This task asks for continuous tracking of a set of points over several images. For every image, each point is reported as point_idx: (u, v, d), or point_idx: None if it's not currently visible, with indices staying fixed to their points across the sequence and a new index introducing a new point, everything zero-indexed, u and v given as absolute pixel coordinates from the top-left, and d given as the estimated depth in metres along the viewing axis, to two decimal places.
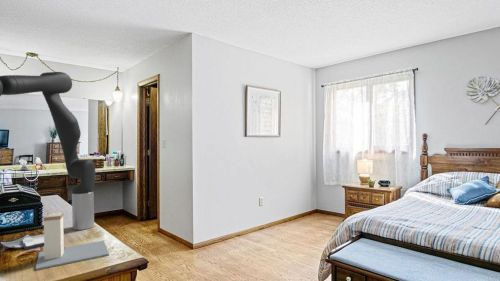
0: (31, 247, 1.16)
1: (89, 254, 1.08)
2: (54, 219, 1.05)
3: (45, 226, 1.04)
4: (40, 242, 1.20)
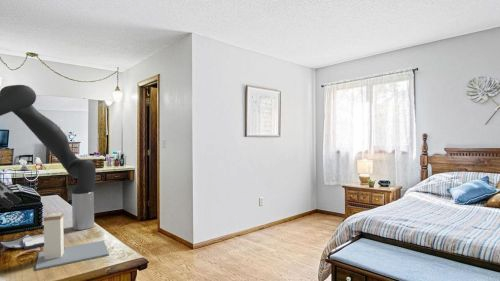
0: (31, 247, 1.16)
1: (89, 254, 1.08)
2: (54, 219, 1.05)
3: (45, 226, 1.04)
4: (40, 242, 1.20)
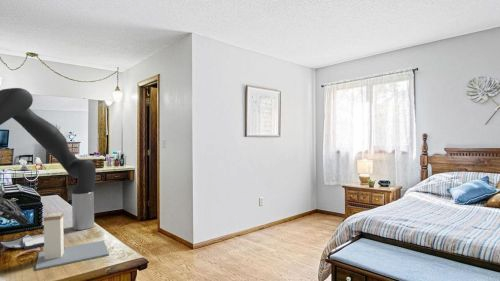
0: (31, 247, 1.16)
1: (89, 254, 1.08)
2: (54, 219, 1.05)
3: (45, 226, 1.04)
4: (40, 242, 1.20)
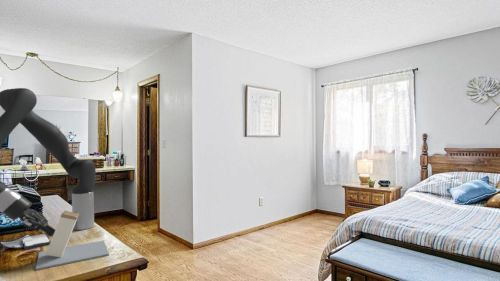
0: (31, 247, 1.16)
1: (89, 254, 1.08)
2: (70, 218, 1.07)
3: (60, 222, 1.05)
4: (40, 242, 1.20)
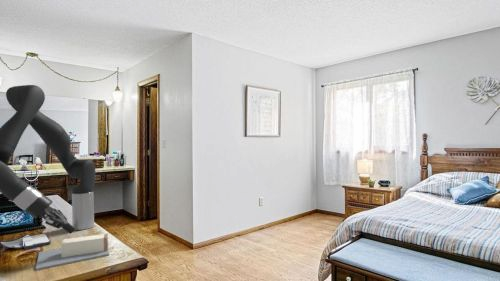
0: (31, 247, 1.16)
1: (89, 254, 1.08)
2: (104, 246, 1.11)
3: (97, 240, 1.10)
4: (40, 242, 1.20)
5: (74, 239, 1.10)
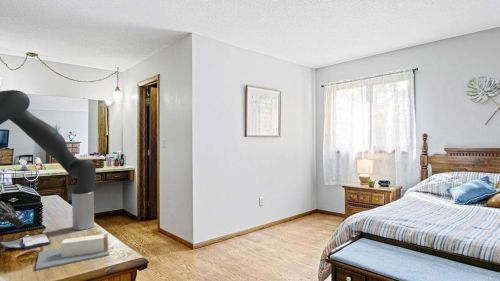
0: (31, 247, 1.16)
1: (89, 254, 1.08)
2: (104, 246, 1.11)
3: (97, 240, 1.10)
4: (40, 242, 1.20)
5: (74, 239, 1.10)
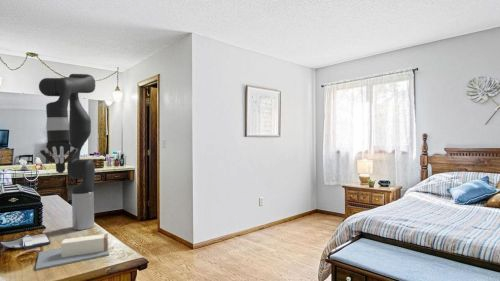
0: (30, 247, 1.16)
1: (89, 254, 1.08)
2: (104, 246, 1.11)
3: (97, 240, 1.10)
4: (40, 242, 1.20)
5: (74, 239, 1.10)
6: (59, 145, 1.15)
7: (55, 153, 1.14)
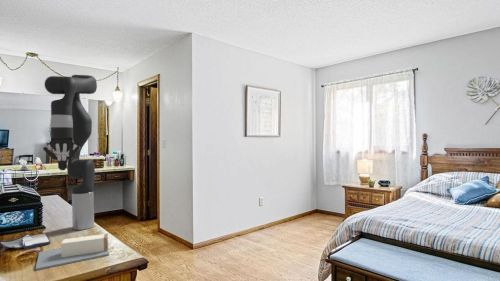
0: (30, 247, 1.16)
1: (89, 254, 1.08)
2: (104, 246, 1.11)
3: (97, 240, 1.10)
4: (39, 242, 1.20)
5: (74, 239, 1.10)
6: (62, 142, 1.16)
7: (58, 150, 1.15)
